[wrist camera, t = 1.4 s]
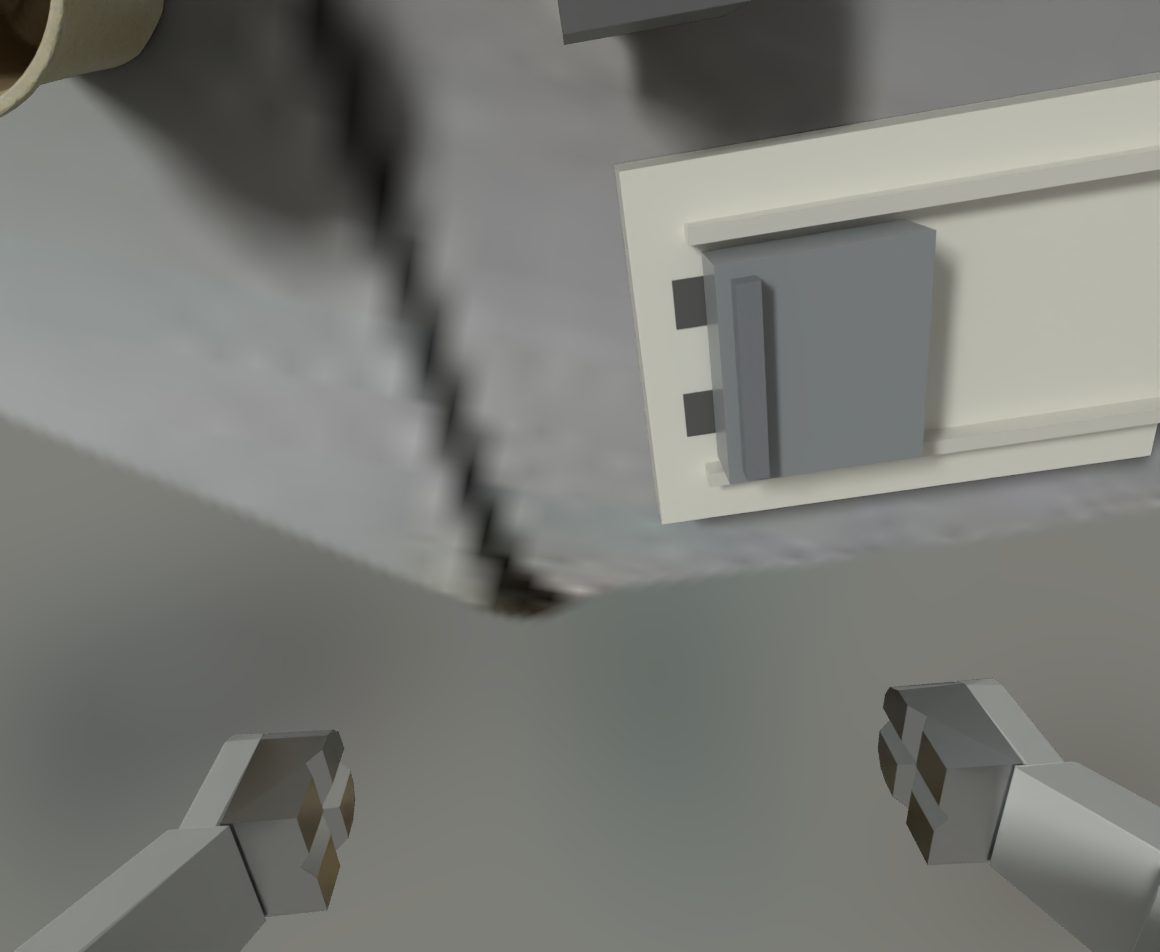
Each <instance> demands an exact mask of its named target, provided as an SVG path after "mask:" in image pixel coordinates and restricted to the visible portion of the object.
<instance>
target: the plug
mask: <svg viewBox="0 0 1160 952" xmlns="http://www.w3.org/2000/svg"><path fill="white" fill-rule="evenodd" d="M750 1H752V0H558V6H559V13H560V20H561V26H562V33H563V40H564V45H567V44H572V43H578V42H583V41H589V40H594V39H600V38H605V37H611V36H616V35H622V34H627V33H633V32H638V31H644V30H649V29H655V28H661V27H666V26H672V25H677V24H683V23H688V22H694V21H699V20H705V19H710V18H716V17H721V16H725V15H727V14H729V13H730V12H732V11H734V10H736V9H738V8H740V7H741V6H743V5H745V4H747V3H749V2H750Z"/></svg>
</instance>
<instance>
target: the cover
mask: <svg viewBox="0 0 1160 952" xmlns="http://www.w3.org/2000/svg"><path fill="white" fill-rule="evenodd" d="M935 245H936V230H935V229H932V228H929V227H926V226H923V225H920V224H917V223H915V222H912V221H909V220H906V219H900V220H894V221H887V222H881V223H875V224H869V225H863V226H857V227H851V228H844V229H838V230H832V231H826V232H820V233H814V234H807V235H801V236H795V237H789V238H783V239H777V240H771V241H764V242H758V243H752V244H746V245H740V246H734V247H727V248H721V249H715V250H709V251H703V252H702V265H703V278H704V290H705V303H706V315H707V328H708V341H709V353H710V366H711V379H712V391H713V404H714V416H715V429H716V442H717V454H718V458H719V460H720V462H721V465H722V467H723V470H724V472H725V474H726V477H727V479H728V481H729V484H737V483H744V482H751V481H758V480H765V479H772V478H779V477H786V476H793V475H800V474H807V473H814V472H821V471H828V470H835V469H842V468H849V467H856V466H863V465H870V464H877V463H884V462H890V461H897V460H904V459H911V458H918V457H922V456H923V439H924V423H925V407H926V391H927V375H928V359H929V342H930V326H931V310H932V294H933V278H934V262H935Z"/></svg>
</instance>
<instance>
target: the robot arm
mask: <svg viewBox="0 0 1160 952" xmlns="http://www.w3.org/2000/svg"><path fill="white" fill-rule="evenodd" d="M883 709H884V711H885V712H886V714H887V716H888V718H889V720H890V721H889V722H888V723H887V724H886V725H885V726H884V727H883V728H882V729H881V730H880V732H879V742H878V753H879V760H880V767H881V770H882V773H883V776H884V779H885V782H886V784H887V786H888V788H889V790H890V792H891V794H892V796H893V797H894V798H895V799H896V800H898V801H899V802H901V803H902V804H904V805H905V806H906V807H908V814H907V821H906V824H907V826H908V828H909V830H910V832H911V834H912V836H913V838H914V840H915V842H916V844H917V845H918V847H919V850H920V851H921V853H922V855H923V857H924V859H925V861H926V863H927V865H937V864H959V863H979V862H990V866H991V867H992V868H993V869H994V870H996V871H997V872H998V873H999V874H1000V875H1002V876H1003V877H1004V878H1005V879H1007V880H1008V881H1009V882H1010V883H1011V884H1012V885H1014V886H1015V887H1016V888H1017V889H1018V890H1019V891H1021V892H1022V893H1023V894H1024V895H1025V896H1027V897H1028V898H1029V899H1030V900H1031V901H1033V902H1034V903H1035V904H1036V905H1037V906H1039V907H1040V908H1041V909H1042V910H1043V911H1045V912H1046V913H1047V914H1048V915H1049V916H1050V917H1052V918H1053V919H1054V920H1055V921H1056V922H1058V923H1059V924H1060V925H1061V926H1062V927H1064V928H1065V929H1066V930H1067V931H1068V932H1069V933H1071V934H1072V935H1073V936H1074V937H1075V938H1077V939H1078V940H1079V941H1080V942H1081V943H1083V944H1084V945H1085V946H1086V947H1087V948H1089V949H1090V950H1091V951H1092V952H1160V807H1159V806H1157V805H1155V804H1153V803H1151V802H1149V801H1148V800H1146V799H1144V798H1142V797H1140V796H1138V795H1136V794H1135V793H1133V792H1131V791H1129V790H1127V789H1125V788H1124V787H1122V786H1120V785H1118V784H1116V783H1114V782H1113V781H1111V780H1109V779H1107V778H1105V777H1103V776H1102V775H1100V774H1098V773H1096V772H1094V771H1092V770H1091V769H1089V768H1087V767H1085V766H1083V765H1081V764H1080V763H1078V762H1065V761H1064V760H1063V759H1062V758H1061V756H1060V755H1059V754H1058V753H1057V752H1056V750H1055V749H1054V748H1053V747H1052V745H1051V744H1050V743H1049V742H1048V741H1047V739H1046V738H1045V737H1044V736H1043V734H1042V733H1041V732H1040V731H1039V729H1038V728H1037V727H1036V726H1035V725H1034V724H1033V722H1032V721H1031V720H1030V719H1029V717H1028V716H1027V715H1026V714H1025V712H1024V711H1023V710H1022V709H1021V708H1020V706H1019V705H1018V704H1017V703H1016V702H1015V700H1014V699H1013V698H1012V696H1011V695H1010V694H1009V693H1008V692H1007V690H1006V689H1005V688H1004V687H1003V685H1002V684H1001V683H1000V682H998V681H996V680H995V679H993V678H986V679H976V680H964V681H958V682H944V683H932V684H921V685H910V686H897V687H889V689H888V691H887V692H886V694H885V699H884V705H883ZM343 751H344V746H343V743H342V740H341V737H340V734H339V732H338V731H335V730H333V729H332V730H314V731H293V732H273V733H267V734H250V735H234V736H232V737H231V738H230V739H229V740H227V741H226V742H225V744H224V745H223V747H222V749H221V751H220V753H219V755H218V757H217V758H216V760H215V762H214V764H213V766H212V768H211V770H210V771H209V773H208V775H207V777H206V779H205V781H204V783H203V784H202V786H201V788H200V790H199V792H198V794H197V796H196V797H195V799H194V801H193V803H192V805H191V807H190V809H189V810H188V813H187V814H186V816H185V818H184V820H183V822H182V823H181V825H180V827H179V829H174V830H167V831H166V832H165V833H164V834H163V835H161V836H160V837H159V838H157V839H156V840H155V841H154V842H152V843H151V844H150V845H148V846H147V847H146V848H145V849H143V850H142V851H141V852H139V853H138V854H137V855H136V856H134V857H133V858H132V859H131V860H129V861H128V862H127V863H126V864H124V865H123V866H122V867H120V868H119V869H118V870H117V871H115V872H114V873H113V874H112V875H110V876H109V877H108V878H106V879H105V880H104V881H103V882H101V883H100V884H99V885H97V886H96V887H95V888H94V889H92V890H91V891H90V892H89V893H87V894H86V895H85V896H83V897H82V898H81V899H80V900H78V901H77V902H76V903H75V904H73V905H72V906H71V907H70V908H68V909H67V910H66V911H64V912H63V913H62V914H61V915H59V916H58V917H57V918H56V919H54V920H53V921H52V922H50V923H49V924H48V925H47V926H45V927H44V928H43V929H42V930H40V931H39V932H38V933H37V934H35V935H34V936H33V937H31V938H30V939H29V940H28V941H27V942H25V943H24V944H22V945H21V946H20V947H19V948H17V949H16V950H15V951H14V952H240V951H241V950H242V948H243V947H244V946H245V945H246V944H247V943H248V941H249V940H250V939H251V938H252V937H253V935H254V934H255V933H256V932H257V931H258V930H259V928H260V927H261V926H262V925H263V924H264V922H265V921H266V918H265V917H269V916H279V915H288V914H298V913H307V912H317V911H325V910H328V906H329V903H330V900H331V896H332V893H333V889H334V886H335V883H336V879H337V876H338V872H339V869H340V863H339V860H338V856H337V853H336V850H337V849H338V848H339V847H340V846H341V845H342V844H343V843H344V842H345V841H346V840H347V839H348V838H349V834H350V830H351V826H352V823H353V816H354V807H355V791H354V782H353V778H352V775H351V771H350V770H349V769H348V768H346V767H345V766H344V765H343V764H341V763H340V760H341V757H342V754H343Z"/></svg>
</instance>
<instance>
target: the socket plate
mask: <svg viewBox="0 0 1160 952" xmlns="http://www.w3.org/2000/svg"><path fill="white" fill-rule="evenodd" d="M614 169H615V177H616V185H617V193H618V201H619V209H620V217H621V225H622V233H623V241H624V249H625V257H626V264H627V272H628V280H629V288H630V296H631V304H632V312H633V320H634V328H635V336H636V344H637V352H638V360H639V368H640V376H641V384H642V392H643V400H644V408H645V416H646V424H647V432H648V440H649V448H650V456H651V464H652V472H653V480H654V488H655V494H656V498H657V503H658V507H659V512H660V516H661V521H662V524H668V523H675V522H682V521H689V520H696V519H703V518H710V517H717V516H724V515H732V514H739V513H746V512H753V511H760V510H767V509H774V508H781V507H788V506H795V505H802V504H810V503H817V502H824V501H831V500H838V499H845V498H852V497H859V496H866V495H873V494H880V493H887V492H895V491H902V490H909V489H916V488H923V487H930V486H937V485H944V484H951V483H958V482H965V481H973V480H980V479H987V478H994V477H1001V476H1008V475H1015V474H1022V473H1029V472H1036V471H1043V470H1051V469H1058V468H1065V467H1072V466H1079V465H1086V464H1093V463H1100V462H1107V461H1114V460H1121V459H1129V458H1136V457H1143V456H1150V455H1151V451H1152V446H1153V442H1154V437H1155V433H1156V428H1157V424H1158V423H1160V72H1156V73H1150V74H1144V75H1138V76H1132V77H1126V78H1121V79H1115V80H1109V81H1103V82H1097V83H1091V84H1085V85H1080V86H1074V87H1068V88H1062V89H1056V90H1050V91H1044V92H1039V93H1033V94H1027V95H1021V96H1015V97H1009V98H1003V99H997V100H992V101H986V102H980V103H974V104H968V105H962V106H956V107H951V108H945V109H939V110H933V111H927V112H921V113H915V114H910V115H904V116H898V117H892V118H886V119H880V120H874V121H869V122H863V123H857V124H851V125H845V126H839V127H833V128H828V129H822V130H816V131H810V132H804V133H798V134H792V135H786V136H781V137H775V138H769V139H763V140H757V141H751V142H745V143H740V144H734V145H728V146H722V147H716V148H710V149H704V150H699V151H693V152H687V153H681V154H675V155H669V156H663V157H658V158H652V159H646V160H640V161H634V162H628V163H622V164H617V165H614ZM900 219H906V220H909V221H912V222H915V223H917V224H920V225H923V226H926V227H929V228H932V229H935V230H936V245H935V262H934V278H933V294H932V310H931V326H930V342H929V359H928V375H927V391H926V407H925V423H924V439H923V456H922V457H918V458H911V459H904V460H897V461H890V462H884V463H877V464H870V465H863V466H856V467H849V468H842V469H835V470H828V471H821V472H814V473H807V474H800V475H793V476H786V477H779V478H772V479H765V480H758V481H751V482H744V483H737V484H729V481H728V479H727V477H726V474H725V472H724V470H723V467H722V465H721V462H720V460H719V458H718V454H717V442H716V429H715V416H714V404H713V391H712V379H711V366H710V353H709V341H708V328H707V315H706V303H705V290H704V278H703V265H702V252H703V251H709V250H715V249H721V248H727V247H734V246H740V245H746V244H752V243H758V242H764V241H771V240H777V239H783V238H789V237H795V236H801V235H807V234H814V233H820V232H826V231H832V230H838V229H844V228H851V227H857V226H863V225H869V224H875V223H881V222H887V221H894V220H900Z"/></svg>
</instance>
